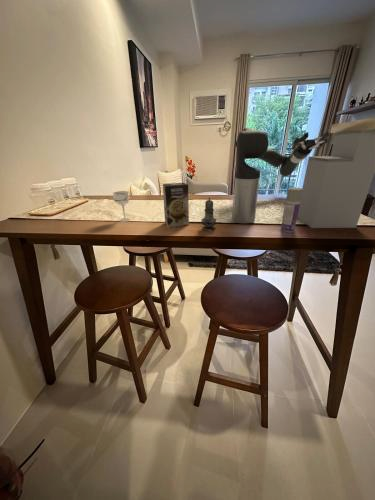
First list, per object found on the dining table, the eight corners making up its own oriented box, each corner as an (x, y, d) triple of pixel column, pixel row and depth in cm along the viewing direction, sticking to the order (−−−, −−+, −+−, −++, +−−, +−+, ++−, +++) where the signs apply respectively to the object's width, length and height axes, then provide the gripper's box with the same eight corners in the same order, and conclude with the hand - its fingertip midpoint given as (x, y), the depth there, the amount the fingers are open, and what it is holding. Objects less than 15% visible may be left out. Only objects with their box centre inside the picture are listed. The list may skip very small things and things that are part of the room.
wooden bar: (373, 129, 63) (377, 117, 62) (330, 133, 85) (332, 124, 84) (388, 128, 63) (392, 116, 62) (340, 132, 85) (342, 124, 83)
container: (290, 227, 81) (298, 187, 74) (296, 232, 77) (305, 189, 70) (278, 228, 81) (285, 187, 74) (284, 232, 77) (291, 190, 70)
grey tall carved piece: (215, 231, 79) (216, 199, 74) (200, 231, 80) (200, 199, 75) (217, 226, 84) (218, 196, 79) (202, 225, 86) (202, 195, 80)
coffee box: (167, 227, 85) (164, 186, 78) (164, 222, 90) (161, 183, 83) (189, 225, 87) (188, 184, 80) (185, 220, 92) (184, 181, 85)
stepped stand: (311, 227, 80) (335, 130, 66) (296, 216, 93) (313, 132, 78) (355, 227, 79) (389, 128, 65) (334, 216, 92) (359, 131, 77)
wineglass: (127, 222, 92) (122, 194, 86) (114, 221, 94) (109, 194, 88) (135, 218, 97) (132, 191, 92) (123, 217, 99) (118, 190, 94)
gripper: (285, 145, 110) (300, 126, 94) (314, 145, 109) (334, 124, 93) (286, 160, 110) (301, 142, 94) (314, 159, 109) (334, 141, 93)
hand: (317, 133), depth 93 cm, fingers open, 8 cm apart
